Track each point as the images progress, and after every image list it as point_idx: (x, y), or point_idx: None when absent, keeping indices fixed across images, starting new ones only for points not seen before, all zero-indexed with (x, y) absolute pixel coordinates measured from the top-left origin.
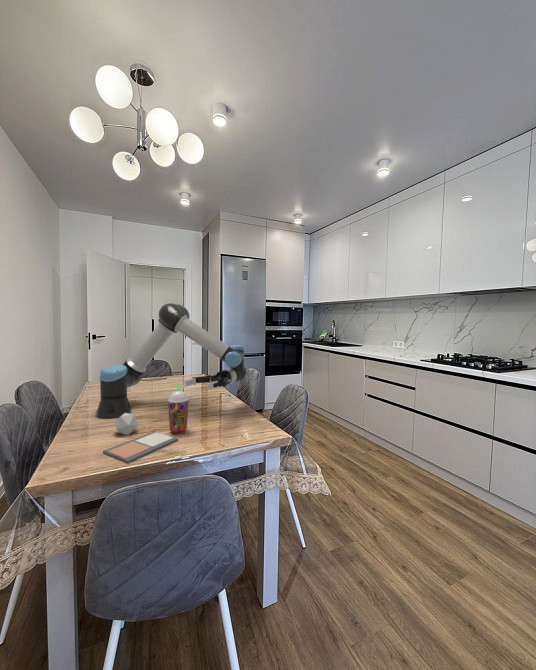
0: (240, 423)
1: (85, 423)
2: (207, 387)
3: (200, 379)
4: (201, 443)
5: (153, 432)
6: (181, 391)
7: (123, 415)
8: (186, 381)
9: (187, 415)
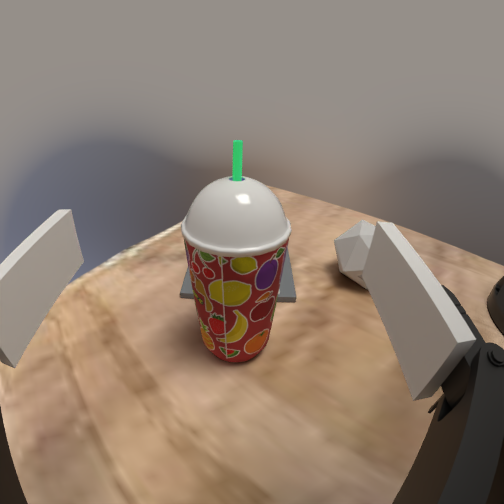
0: (32, 498)
1: (471, 267)
2: (74, 242)
3: (445, 443)
4: (105, 307)
5: (289, 292)
6: (219, 184)
7: (368, 225)
8: (379, 237)
9: (200, 311)
